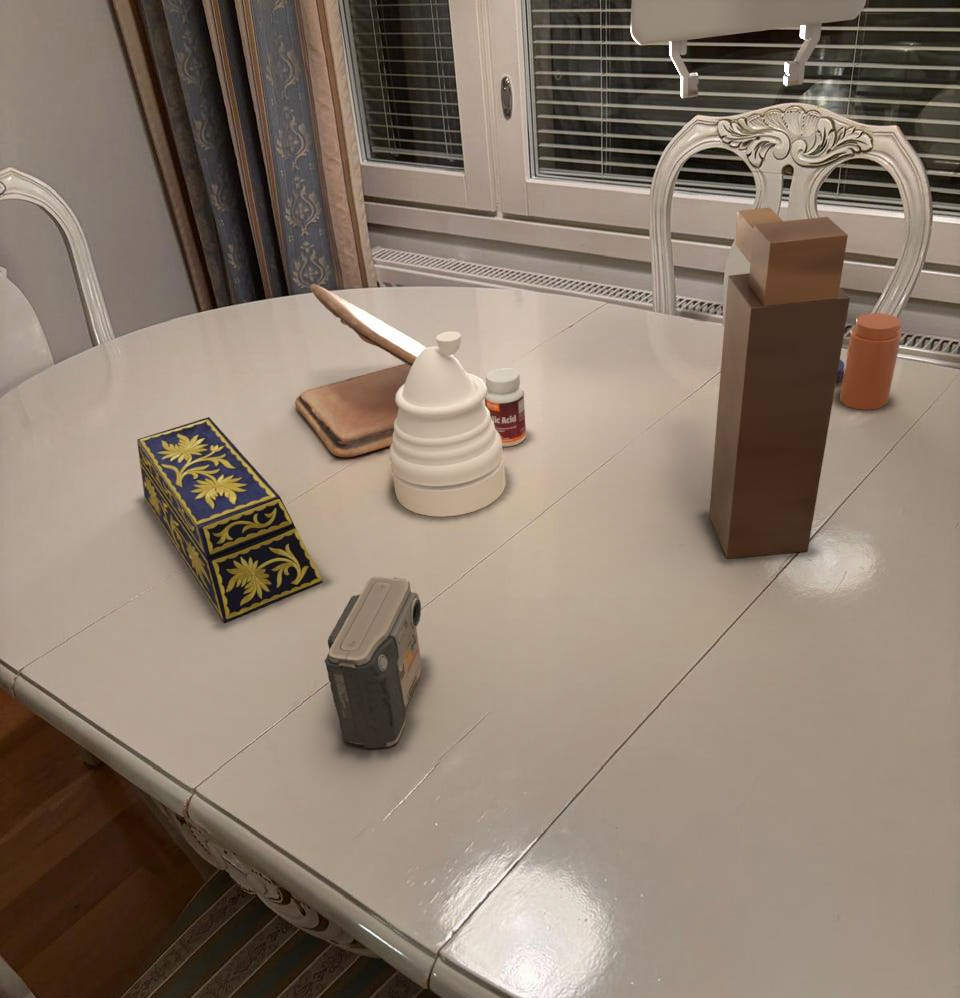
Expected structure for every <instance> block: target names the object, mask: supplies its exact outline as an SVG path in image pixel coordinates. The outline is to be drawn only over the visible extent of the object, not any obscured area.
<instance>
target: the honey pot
mask: <svg viewBox="0 0 960 998" xmlns="http://www.w3.org/2000/svg"><path fill="white" fill-rule="evenodd" d="M435 339H436V344H437V345H432V346H428V347H426V349H425V350H423V351H422V352H421V353H420V354H419V355H418V357H417V358H416V360H415V361H414V363H413V365H412V367H411V369H410V371H409V374H408V376H407V379H406V382H405V384H404V385H403V386H401V387H400V388H399V390H398V391H397V393H396V398H395V402H396V404H397V406H398V407H399V410H398V415H397V418H396V419H395V421H394V432H393V443H392V444H391V446H389V461H390V467H391V474H392V480H393V486H394V492H395V497H396V499H397V501H398V503H399V504H400V505H401V506H402V507H404V508H405V509H406V510H408V511H411V512H412V513H415V514H417V515H423V516H428V517H441V518H442V517H443V518H444V517H445V518H446V517H453V516H454V517H455V516H461V515H465V514H469V513H473V512H476V511H479V510H480V509H483V508H485V507H487V506H489V505H490V504H492V503H493V502H495V501H497V499H498V498H499V497H500V496H501V495H502V494H503V493H504V490H505V487H506V485H507V483H506V471H505V461H504V460H505V459H504V450H503V446H502V440H501V437H500V434H499V433H498V432H497V430H496V429H495V425H494V422H493V421H492V419H491V417H490V411H489V410H488V409H487V407H486V406H485V402H484V401H485V396H486V394H487V389H488V388H487V386H486V382H484V380H483V379H482V378H480V377H479V376H477V375H475V374H472V373H469V372H467V371H466V369H465V368H464V367H463V366H462V364H461V363H460V361H459V360H458V359H457V358H456V357H455V356H454V355H455V354H456V353H457V352H458V351H459V349H460V346H461V343H462V334H461V332H458V331H453V330H452V331H444V332H443V331H442V332H441V333H439V334H437V335H436V337H435Z"/></svg>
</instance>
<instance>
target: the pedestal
mask: <svg viewBox="0 0 960 998" xmlns="http://www.w3.org/2000/svg"><path fill="white" fill-rule="evenodd" d="M749 274H750V272H748V273H739V274H730V275H728V277H727V289H726V300H725V301H726V302H725V313H724V314H725V315H724V325H723V326H724V327H723V337H722V339H723V340H722V350H721V351H722V352H721V363H720V364H721V365H720V375H719V386H718V387H719V390H718V399H717V413H716V426H715V437H714V448H713V449H714V451H713V461H712V462H713V463H712V464H713V465H712V475H711V488H710V499H709V510H708V511H709V513H708V517H709V519H710V521H711V524H712V526H713V529H714V531H715V534H716V536H717V538H718V541H719V543H720V546H721V548H722V550H723V553H724V555H725V558H726V559H727V560H728V559H739V558H740V559H741V558H749V557H750V558H751V557H761V556H772V555H773V556H774V555H783V554H793V553H794V554H795V553H804V552H808V551H809V547H810V540H811V534H812V528H813V523H814V516H815V511H816V506H817V505H816V504H817V498H818V493H819V487H820V481H821V476H822V468H823V462H824V457H825V450H826V445H827V438H828V432H829V428H830V421H831V414H832V408H833V403H834V396H835V391H836V386H837V385H836V384H837V383H836V379H837V373H838V367H839V361H840V360H841V355H842V350H843V343H844V337H845V331H846V324H847V320H848V312H849V307H850V302H851V301H850V300H851V298H850V296H849V295H847V293H846V292H845V291H844V290H843V289H842V288H841V287H840V288H839V294H838V299H831V300H821V301H811V302H801V303H791V304H782V305H772V306H763V304H762V303H761V302H760V300H759V299H758V298H757V296H756V295H755V294H754V292H753V291H752V289H751V288H750V287H749Z"/></svg>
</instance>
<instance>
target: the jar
mask: <svg viewBox="0 0 960 998" xmlns="http://www.w3.org/2000/svg"><path fill="white" fill-rule="evenodd" d="M901 327H902V326H901V320H900V318H899V317H898V316H895V315H892V314H889V313H883V312H872V313H866V314H862V315H859V316H858V317H856V321H855V326H854V327H852V329H851V330H850V333H849V340H848V346H847V351H846V357H845V363H844V370H843V371H844V372H843V378H842V379H841V387H840V391H839V398H838V399H839V402H840V403H841V404H842V405H844V406H846V407H848V408H850V409H855V410H862V411H863V410H864V411H866V410H867V411H868V410H876V409H880V408H884V407H885V406H886V405H887V404H888V403H889V397H890V392H891V388H892V383H893V379H894V372H895V368H896V363H897V360H898V359H897V358H898V355H899V354H898V353H899V349H900V344H901V339H902V334H903V332H902V330H901Z"/></svg>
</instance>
